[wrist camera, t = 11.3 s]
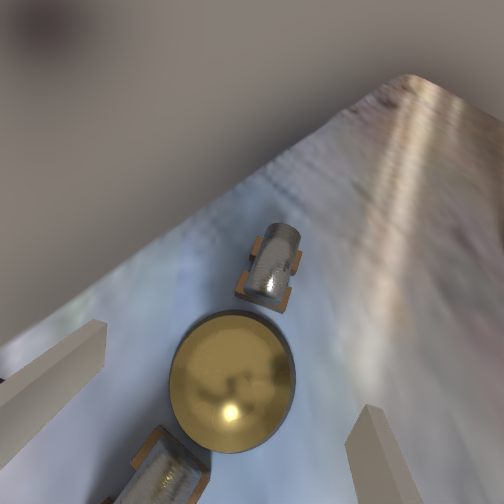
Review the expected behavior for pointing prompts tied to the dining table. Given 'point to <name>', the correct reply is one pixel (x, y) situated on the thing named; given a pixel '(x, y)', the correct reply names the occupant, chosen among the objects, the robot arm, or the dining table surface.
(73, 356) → the robot arm
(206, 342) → the gold cylinder with ring
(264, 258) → the shaft
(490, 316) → the dining table surface
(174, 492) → the shaft
